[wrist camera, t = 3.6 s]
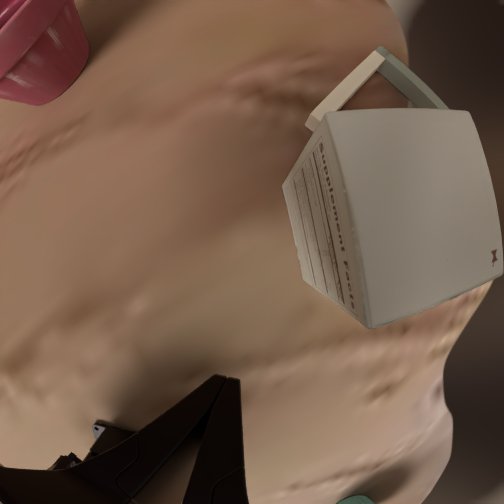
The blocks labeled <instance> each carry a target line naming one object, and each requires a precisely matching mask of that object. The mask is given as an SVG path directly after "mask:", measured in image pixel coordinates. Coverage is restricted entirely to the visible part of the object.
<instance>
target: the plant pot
mask: <svg viewBox="0 0 504 504" xmlns="http://www.w3.org/2000/svg"><path fill="white" fill-rule="evenodd" d="M89 50H90V48H89V43H88V40H87V38H86V35H85V33H84V30H83V27H82V24H81V21H80V18H79V15H78V12H77V9H76V6H75V3H74V0H0V98H1V99H6V100H11V101H16V102H22V103H26V104H30V105H34V106H39V105H43V104H46V103H48V102H50V101H52V100H54V99H55V98H57V97H58V96H59V95H61V94H62V93H63V92H64V91H65V90H66V89H67V88H68V87H69V86H70V85H71V84H72V83H73V82H74V81H75V79H76V78H77V77H78V75H79V74H80V72H81V71H82V69H83V68H84V66H85V64H86V61H87V59H88V56H89Z"/></svg>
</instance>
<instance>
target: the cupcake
mask: <svg viewBox="0 0 504 504" xmlns="http://www.w3.org/2000/svg"><path fill="white" fill-rule="evenodd" d="M337 504H375V503H373V502H372V501H371V500H370V499H369V498H368V497H366V496H364V495H357V496H352V497H349V498H346V499H344V500H342V501H340V502H339V503H337Z"/></svg>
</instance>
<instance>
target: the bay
mask: <svg viewBox="0 0 504 504" xmlns="http://www.w3.org/2000/svg"><path fill="white" fill-rule="evenodd" d="M376 71H377V72H379V73H380V74H381V75H382V76H383V77H385V78H386V79H387V80H388V81H389V82H390V83H392V84H393V85H394V86H395V87H396V88H397V89H398V90H399V91H400V92H402V93H403V94H404V95H405V96H406V97H407V98H408V99H409V100H410V101H411V102H412V103H413V104H414V105H415V106H416V107H417V108H430V109H449V108H448V107H447V106H446V105H445V104H444V103H443V102H442V101H441V99H440V98H438V96H437V95H436V94H435V93H434V92H433V91H432V90H431V89H430V88H429V87H428V86H427V85H426V84H425V83H424V82H423V81H422V80H420V79H419V78H418V77H417V76H416V75H415V74H414V73H413V72H412V71H411V70H410V69H409V68H408V67H406V66H405V65H404V64H403V63H402V62H401V61H399V60H398V59H397V58H396V57H395V56H393V55H392V54H391V53H390V52H389V51H387V50H386V49H385V48H383V47H382V46H381V45H380V46H379V47H378V48H377V49H376V50H374V51H373V52H372V53H371V54H370V55H369V56H368V57H367V58H366V59H365V60H364V61H363V62H362V63H361V64H360V65H359V66H357V67H356V68H355V69H354V70H353V71H352V72H351V73H350V74H349V75H348V76H347V77H346V78H345V79H344V80H343V81H342V82H341V83H340V84H339V85H338V86H337V87H336V88H335V89H334V90H333V91H332V92H331V93H330V94H329V95H328V96H327V97H326V98H325V99H324V100H323V101H322V102H321V103H320V104H319V105H318V106H317V107H316V108H315V109H314V110H313V111H312V112H311V113H310V115H309V117H308V119H307V121H306V123H305V126H306V127H307V128H308V129H310V130H311V131H312V132H313V133H314V131H315V129H316V128H317V126H318V125H319V123H320V121H321V120H322V118H323V116H324V114H325V113H326V112H333V111H339V110H340V109H341V108H342V106H343V105H344V104H345V103H346V102H347V101H348V100H349V99H350V98H351V97H352V96H353V95H354V94H355V93H356V92H357V90H358V89H359V88H360V87H361V86H362V85H363V84H364V83H365V82H366V81H367V80H368V79H369V78H370V77H371V76H372V75H373V74H374V73H375V72H376ZM449 110H450V109H449Z"/></svg>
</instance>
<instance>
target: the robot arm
mask: <svg viewBox="0 0 504 504" xmlns="http://www.w3.org/2000/svg"><path fill="white" fill-rule="evenodd" d="M92 428H93V432H94V435H95V438H96V441H95V443H94V444H93V445H92V447H91V448H90V452H89V453H88V454H87V456H86V457H85V459H84V460H83V461H82V460H80V459H79V458H78V457H76V455H75V454H74V453H72V452H71V453H70V454H69V455H68V456H62V455H61V456H60V457H59V458H58V460H57V461H56V462H55V463H54V464H53V465H52V466H51V467H50V468H49V469H47V470H31V469H16V468H7V467H4V466H3V465H1V464H0V504H181V503H182V504H249V501H248V496H247V488H246V478H245V464H244V446H243V427H242V406H241V384H240V379H237V378H232V377H228V378H227V377H226V376H223V375H219V374H214V375H213V376H212V377H210V378H209V379H208V380H207V381H205V382H204V383H203V384H201V385H200V386H199V387H198V388H196V389H195V390H194V391H192V392H191V393H190V394H189V395H187V396H186V397H185V398H183V399H182V400H181V401H179V402H178V403H177V404H175V405H174V406H173V407H171V408H170V409H169V410H167V411H166V412H165V413H163V414H162V415H161V416H159V417H158V418H156V419H155V420H154V421H152V422H151V423H149V424H148V425H147V426H145V427H144V428H142V429H141V430H139V431H138V432H137V433H135V432H130V431H126V430H122V429H118V428H114V427H110V426H106V425H102V424H99V423H94V424H93V426H92ZM182 501H183V502H182Z"/></svg>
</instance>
